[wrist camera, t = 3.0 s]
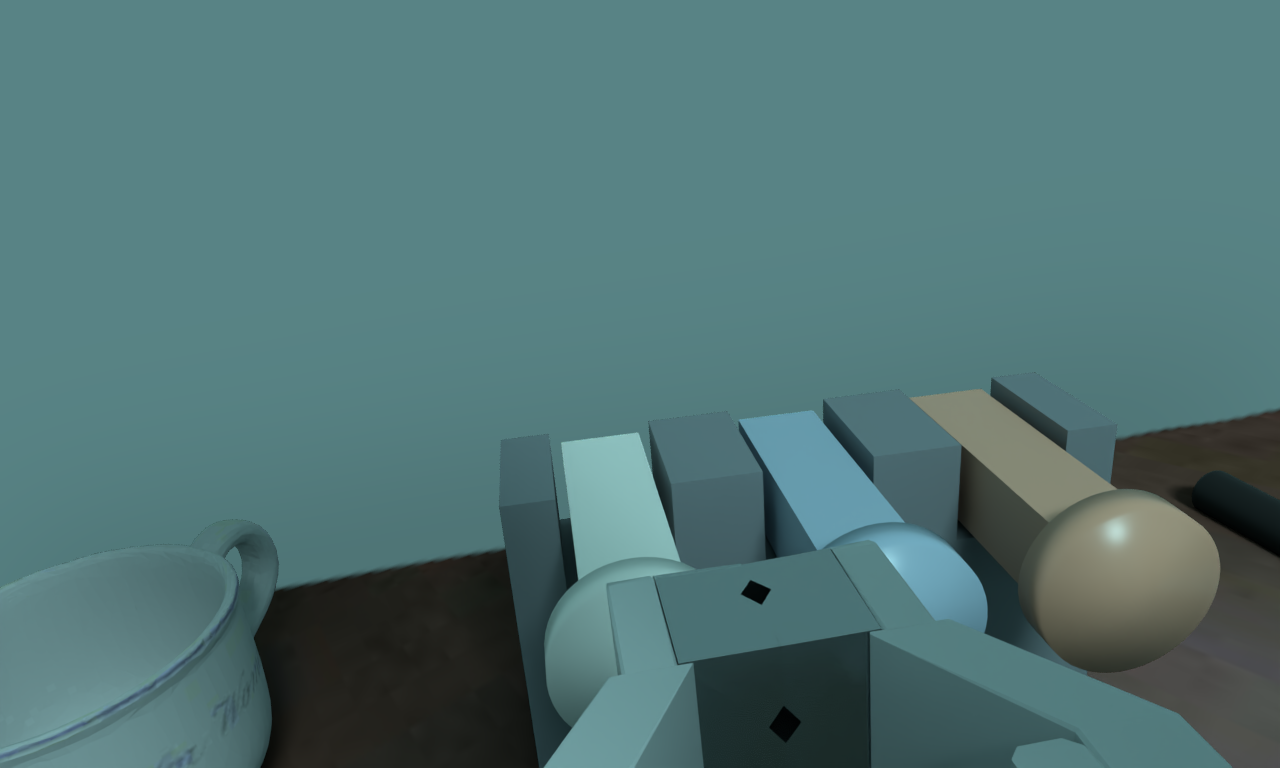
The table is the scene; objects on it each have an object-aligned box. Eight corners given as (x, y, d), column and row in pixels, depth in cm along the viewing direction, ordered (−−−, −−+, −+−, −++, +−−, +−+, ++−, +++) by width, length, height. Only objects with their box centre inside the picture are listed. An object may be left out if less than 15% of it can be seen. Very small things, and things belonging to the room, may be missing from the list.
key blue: (802, 722, 24) (799, 560, 22) (714, 517, 34) (707, 395, 33) (981, 693, 24) (993, 533, 23) (841, 499, 35) (841, 379, 33)
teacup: (43, 1055, 23) (-69, 822, 21) (-136, 887, 29) (-243, 684, 26) (420, 713, 34) (382, 530, 32) (239, 638, 40) (192, 476, 37)
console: (539, 769, 31) (499, 506, 27) (535, 675, 36) (500, 439, 32) (1085, 681, 33) (1117, 424, 29) (1015, 602, 38) (1034, 372, 34)
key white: (557, 762, 23) (534, 599, 22) (543, 541, 34) (526, 418, 32) (747, 731, 24) (739, 569, 22) (675, 522, 34) (666, 400, 32)
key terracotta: (1034, 685, 25) (1050, 524, 23) (879, 494, 35) (881, 373, 33) (1204, 657, 25) (1233, 498, 23) (1001, 477, 35) (1010, 357, 34)
